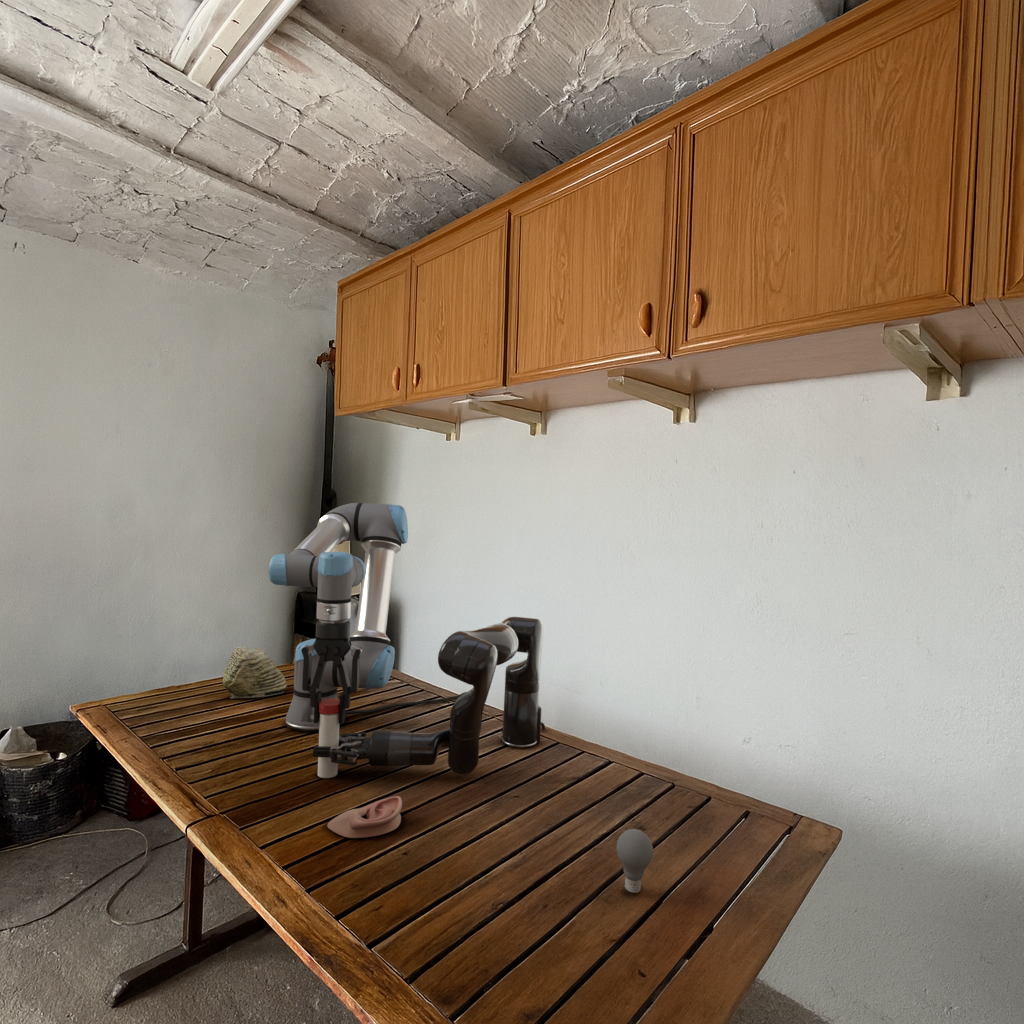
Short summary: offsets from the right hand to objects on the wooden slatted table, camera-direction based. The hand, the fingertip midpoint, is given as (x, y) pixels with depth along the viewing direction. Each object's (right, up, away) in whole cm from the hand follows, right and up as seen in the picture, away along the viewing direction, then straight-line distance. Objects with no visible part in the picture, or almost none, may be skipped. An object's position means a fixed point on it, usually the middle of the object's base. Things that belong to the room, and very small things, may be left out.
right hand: (316, 747), depth 144 cm
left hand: (+3, +6, 0) cm, 7 cm away
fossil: (-36, -4, +54) cm, 65 cm away
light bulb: (+65, -10, -39) cm, 76 cm away
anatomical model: (+16, -7, -21) cm, 28 cm away
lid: (+3, +10, 0) cm, 10 cm away
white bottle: (+2, -6, 0) cm, 7 cm away
